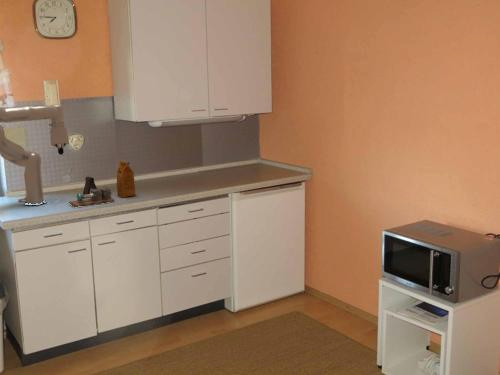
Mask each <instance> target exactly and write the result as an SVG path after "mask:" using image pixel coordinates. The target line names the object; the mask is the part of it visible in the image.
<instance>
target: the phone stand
mask: <svg viewBox="0 0 500 375" xmlns="http://www.w3.org/2000/svg"><path fill="white" fill-rule="evenodd" d="M84 179H85V180H84V181H85V183H84V187H83V191H82V195H86V194H91V189H98V188H97V185H96V183H95V178H94V177H91V176H85V178H84Z"/></svg>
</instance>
